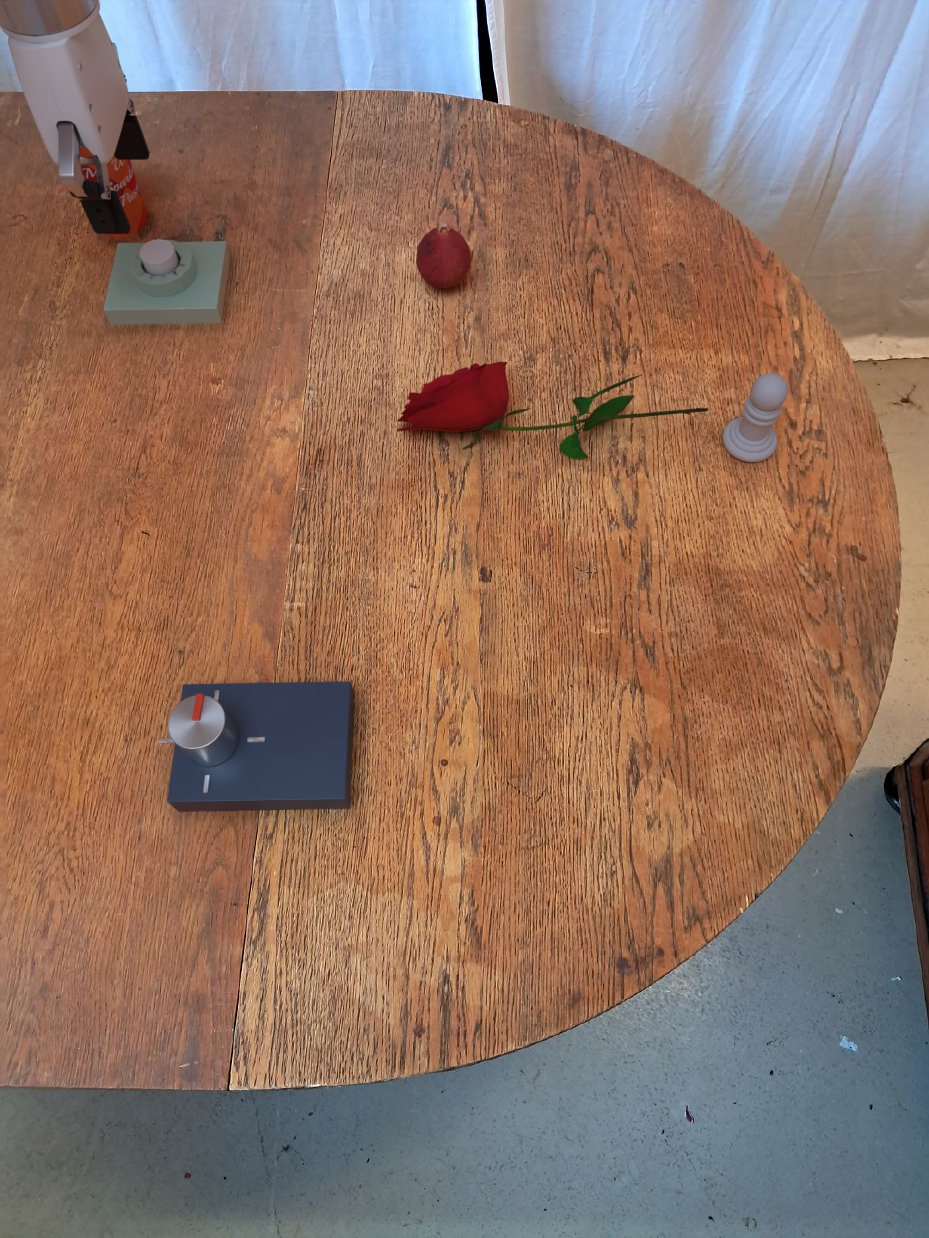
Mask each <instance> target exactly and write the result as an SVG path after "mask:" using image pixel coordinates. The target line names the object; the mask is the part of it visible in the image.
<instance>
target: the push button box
mask: <svg viewBox="0 0 929 1238" xmlns="http://www.w3.org/2000/svg"><path fill="white" fill-rule="evenodd" d="M166 240H167V241H169V242H170V243H171V244H172V245H173V246H174V249H175V252H176V255H177V257H178V260H179V264H178V267H177V268H176V269H175V270H174V271H173V272H171V273H169V274H166V275H164V276H154V275H151V274H149V273H148V272H147V271H146V270H145V267H144V265H143V262H142V260H141V258H140V249H141V248H142V246H143V245H144V244H145V243H146V242H117V246H116V250H115V255H114V259H113V263H112V267H111V273H110V277H109V281H108V282H109V283H108V287H107V291H106V294H105V295H106V296H105V300H104V304H103V308H102V311H103V313H104V315H105V317H106V319H107V320H108V324H109V325H110V326H134V325H135V326H136V325H137V326H138V325H188V324H190V325H191V324H195V325H197V324H222V323H223V315H224V308H225V302H226V295H227V288H228V287H227V286H228V280H229V273H230V265H231V259H232V256H231V253H230V249H229V246H228V243H227V241H226V240H218V241H216V240H215V241H177V240H175V239H166Z"/></svg>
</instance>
